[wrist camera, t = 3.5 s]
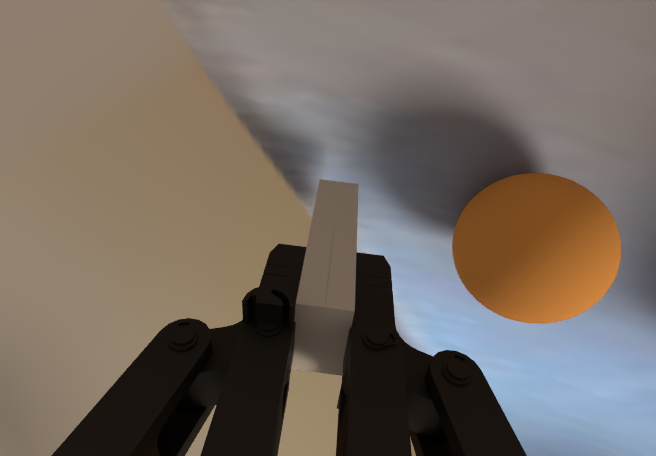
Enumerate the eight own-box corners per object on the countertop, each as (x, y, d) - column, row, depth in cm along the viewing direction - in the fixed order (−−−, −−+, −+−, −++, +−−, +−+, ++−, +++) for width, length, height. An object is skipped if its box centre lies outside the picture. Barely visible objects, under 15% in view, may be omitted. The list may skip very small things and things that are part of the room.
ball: (543, 264, 19) (599, 365, 14) (427, 248, 19) (447, 344, 14) (604, 158, 15) (702, 246, 11) (465, 138, 15) (505, 218, 11)
